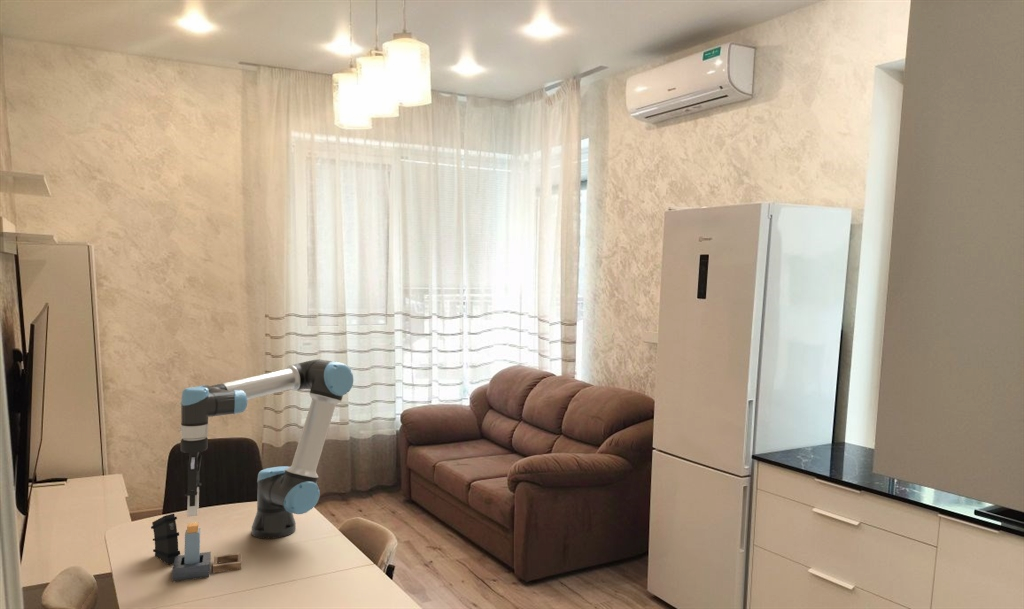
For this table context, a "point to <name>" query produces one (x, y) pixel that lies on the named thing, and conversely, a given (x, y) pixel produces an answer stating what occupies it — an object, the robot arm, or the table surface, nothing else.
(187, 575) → the port
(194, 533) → the plug
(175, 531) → the magazine
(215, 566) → the brown square frame
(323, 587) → the table surface
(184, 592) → the table surface
